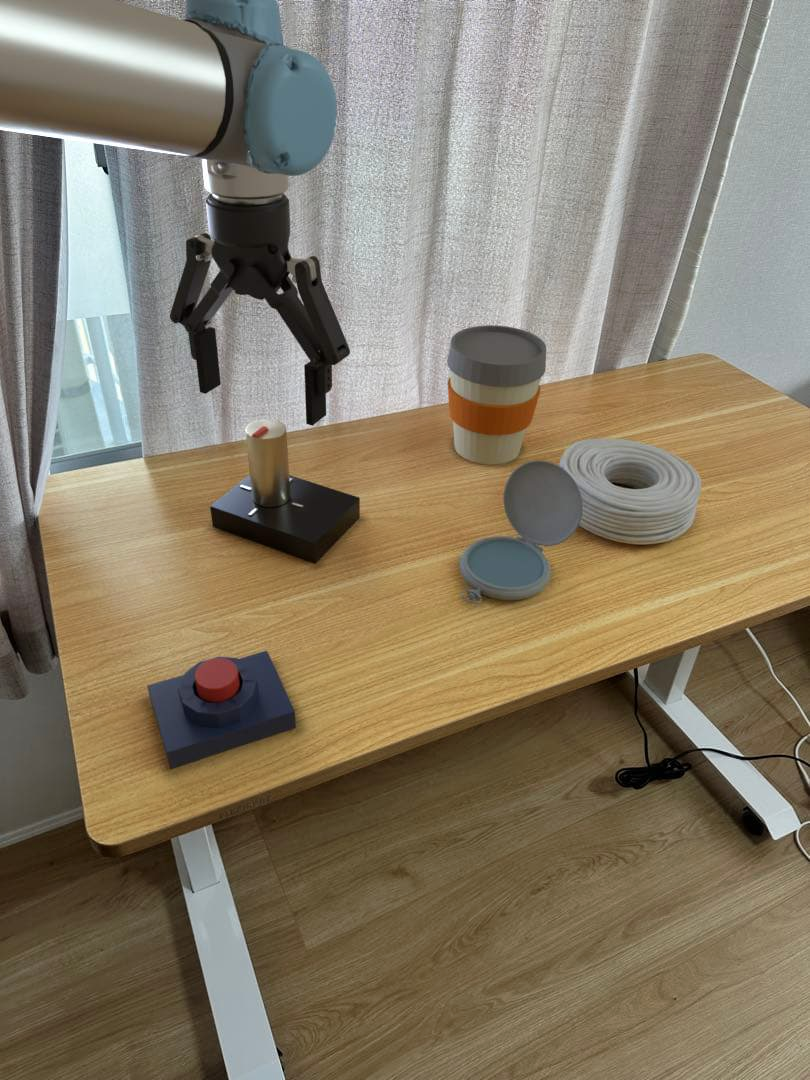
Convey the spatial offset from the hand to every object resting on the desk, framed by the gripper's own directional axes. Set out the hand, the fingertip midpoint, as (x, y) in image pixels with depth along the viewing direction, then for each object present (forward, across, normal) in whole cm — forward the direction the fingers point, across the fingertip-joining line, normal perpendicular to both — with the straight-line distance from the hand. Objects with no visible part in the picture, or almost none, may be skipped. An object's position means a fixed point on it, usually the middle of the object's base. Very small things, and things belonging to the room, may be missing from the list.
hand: (262, 403), depth 86 cm
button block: (+16, +13, -27) cm, 33 cm away
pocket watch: (+15, +28, +4) cm, 32 cm away
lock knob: (+12, 0, 0) cm, 12 cm away
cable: (+15, +36, +23) cm, 46 cm away
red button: (+12, +13, -27) cm, 32 cm away
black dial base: (+15, +2, 0) cm, 15 cm away
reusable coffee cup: (+15, +16, +28) cm, 36 cm away
